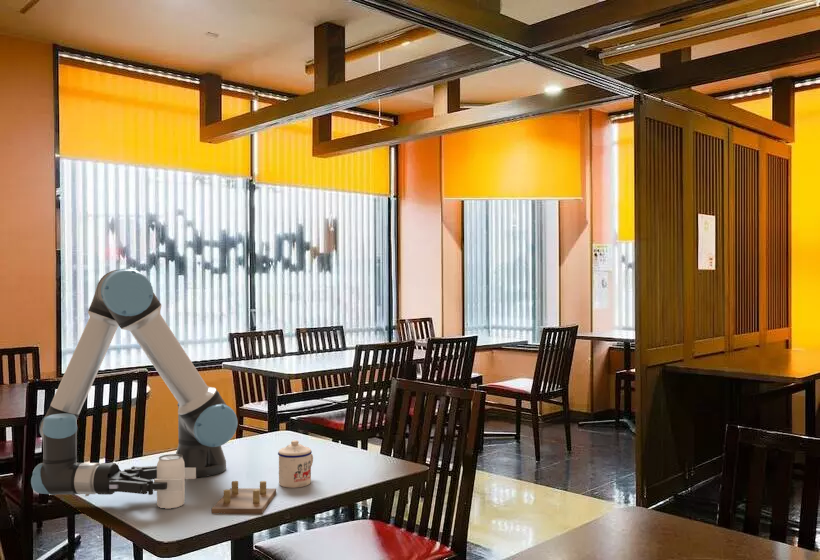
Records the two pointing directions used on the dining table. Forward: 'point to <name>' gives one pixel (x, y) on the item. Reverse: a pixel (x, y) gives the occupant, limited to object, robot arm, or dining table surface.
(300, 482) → the teacup with lid
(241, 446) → the dining table surface
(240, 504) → the pin tray
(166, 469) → the can
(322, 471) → the dining table surface
